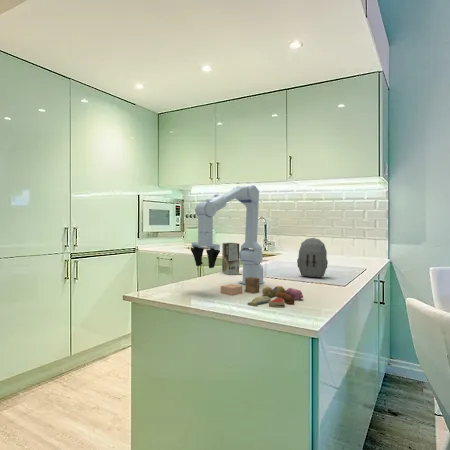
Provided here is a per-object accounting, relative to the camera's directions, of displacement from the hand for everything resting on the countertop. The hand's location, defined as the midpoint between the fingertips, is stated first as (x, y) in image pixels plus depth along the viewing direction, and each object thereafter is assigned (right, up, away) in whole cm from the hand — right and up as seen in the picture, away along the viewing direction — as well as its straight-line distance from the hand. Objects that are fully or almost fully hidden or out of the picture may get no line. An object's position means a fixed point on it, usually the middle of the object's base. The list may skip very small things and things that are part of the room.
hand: (204, 266), depth 139 cm
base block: (+10, -11, 0) cm, 15 cm away
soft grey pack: (+52, -10, +39) cm, 66 cm away
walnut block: (+19, -10, +2) cm, 22 cm away
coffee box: (+11, -9, +48) cm, 50 cm away
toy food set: (+28, -12, -11) cm, 32 cm away
